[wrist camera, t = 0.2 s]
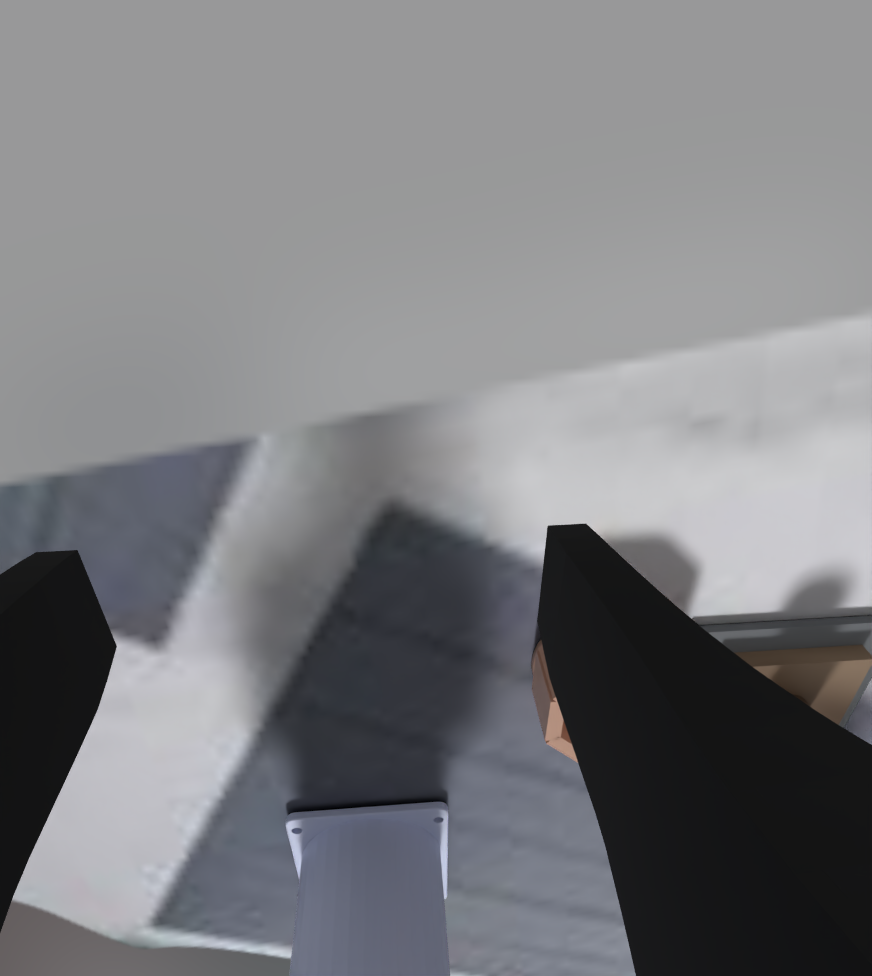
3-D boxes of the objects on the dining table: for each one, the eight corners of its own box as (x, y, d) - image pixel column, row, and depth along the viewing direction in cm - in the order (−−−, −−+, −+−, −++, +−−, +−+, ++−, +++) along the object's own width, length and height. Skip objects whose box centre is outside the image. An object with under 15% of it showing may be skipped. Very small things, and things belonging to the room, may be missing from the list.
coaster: (825, 745, 31) (829, 752, 30) (649, 758, 30) (652, 765, 30) (896, 613, 26) (903, 620, 26) (689, 626, 25) (693, 633, 25)
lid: (813, 738, 30) (881, 838, 26) (684, 747, 29) (732, 851, 25) (862, 644, 26) (949, 744, 22) (717, 653, 26) (778, 756, 22)
